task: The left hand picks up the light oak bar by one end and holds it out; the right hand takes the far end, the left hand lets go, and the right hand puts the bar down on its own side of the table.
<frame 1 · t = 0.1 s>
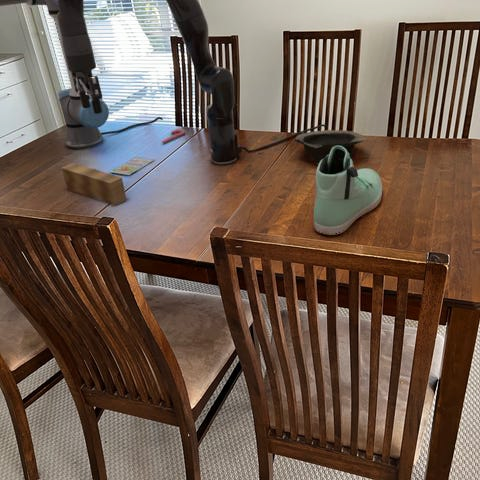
right hand: (92, 110, 140), 29 cm above the table, tool pointing down, fingers open, 8 cm apart
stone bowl: (328, 156, 174), on the table
sneaker: (348, 208, 139), on the table
baking ingredient package: (132, 167, 178), on the table
bar: (96, 194, 160), on the table
candy cane: (172, 138, 203), on the table
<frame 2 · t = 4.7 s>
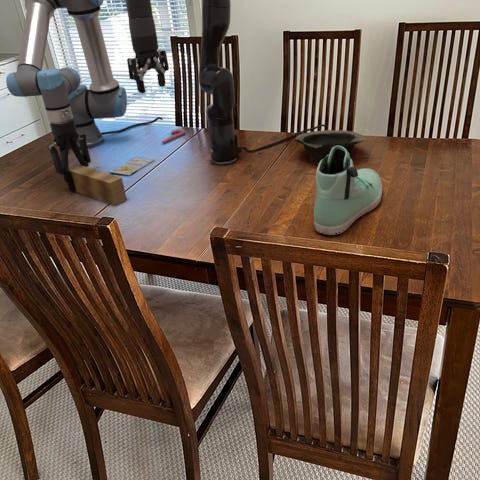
left hand: (79, 187, 164), 1 cm above the table, tool pointing down, fingers closed on bar, 5 cm apart
right hand: (152, 89, 149), 31 cm above the table, tool pointing down, fingers open, 8 cm apart
bar: (96, 194, 160), on the table, touching left hand
everything else where it was.
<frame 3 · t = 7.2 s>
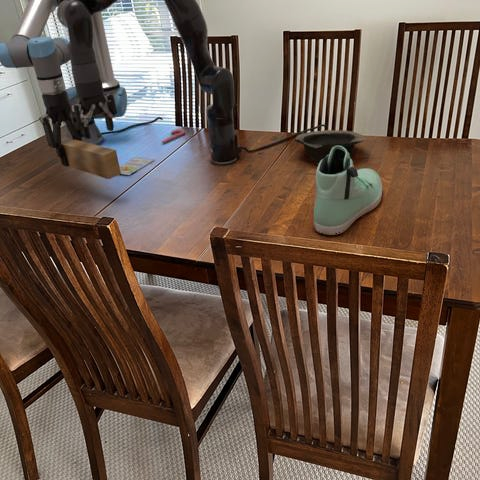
left hand: (72, 162, 160), 10 cm above the table, tool pointing down, fingers closed on bar, 5 cm apart
right hand: (99, 134, 144), 22 cm above the table, tool pointing down, fingers open, 8 cm apart
bar: (89, 168, 155), point 9 cm above the table, touching left hand
everything else where it was.
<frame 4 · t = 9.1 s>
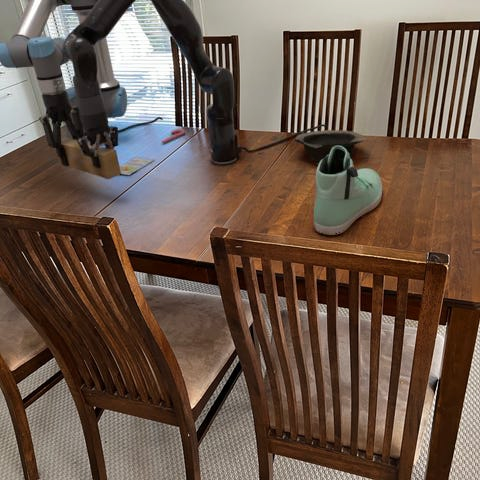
left hand: (72, 162, 160), 10 cm above the table, tool pointing down, fingers closed on bar, 5 cm apart
right hand: (104, 164, 149), 12 cm above the table, tool pointing down, fingers closed on bar, 5 cm apart
bar: (89, 168, 155), point 9 cm above the table, touching left hand, right hand
everything else where it was.
when the left hand's fingers open (10 cm above the table, at t = 9.9 s): bar stays where it is, held by the right hand.
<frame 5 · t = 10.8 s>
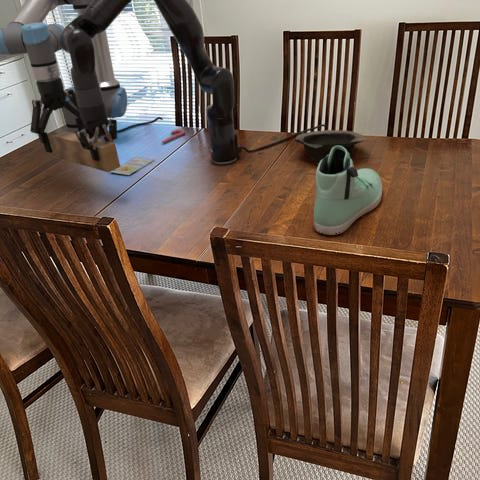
left hand: (66, 144, 158), 15 cm above the table, tool pointing down, fingers open, 13 cm apart
right hand: (104, 157, 148), 15 cm above the table, tool pointing down, fingers closed on bar, 5 cm apart
bar: (88, 162, 154), point 11 cm above the table, touching right hand
everything else where it was.
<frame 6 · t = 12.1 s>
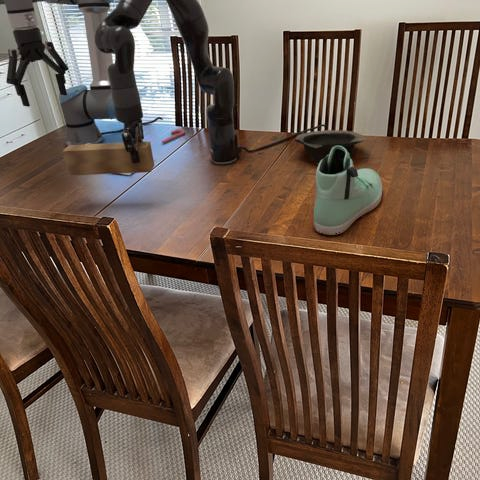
left hand: (45, 100, 152), 30 cm above the table, tool pointing down, fingers open, 13 cm apart
right hand: (138, 159, 143), 15 cm above the table, tool pointing down, fingers closed on bar, 5 cm apart
bar: (112, 170, 146), point 12 cm above the table, touching right hand
everything else where it was.
when the right hand's fingers open (5 cm above the table, at t = 15.1 s): bar drops 2 cm, on the table.
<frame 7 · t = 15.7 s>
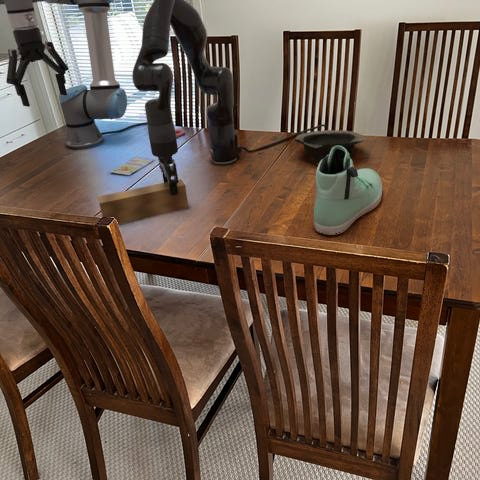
left hand: (45, 100, 152), 30 cm above the table, tool pointing down, fingers open, 13 cm apart
right hand: (171, 189, 144), 6 cm above the table, tool pointing down, fingers open, 8 cm apart
bar: (146, 214, 145), on the table
everything else where it was.
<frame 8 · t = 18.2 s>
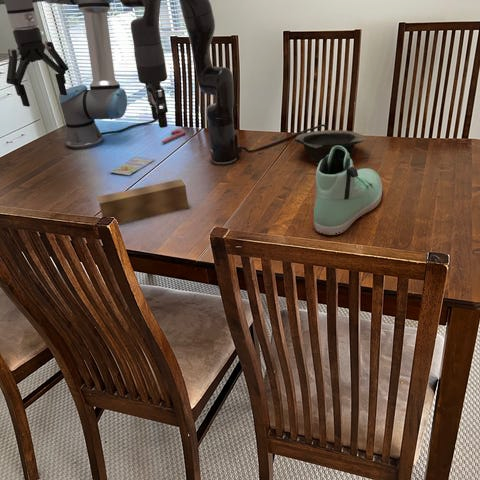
left hand: (45, 100, 152), 30 cm above the table, tool pointing down, fingers open, 13 cm apart
right hand: (160, 122, 133), 27 cm above the table, tool pointing down, fingers open, 8 cm apart
nothing on the table moved.
at the end: bar inside the target area (8.5 cm from its centre), on the table; the left hand is holding nothing; the right hand is holding nothing; bar at rest at the end (0.0 cm/s) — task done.
